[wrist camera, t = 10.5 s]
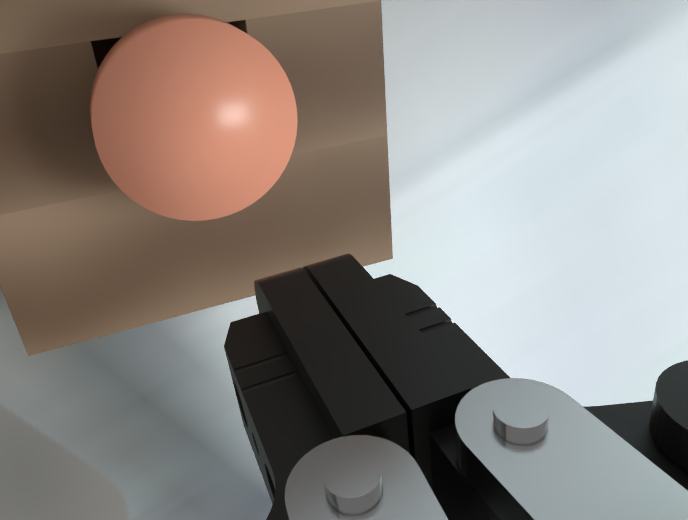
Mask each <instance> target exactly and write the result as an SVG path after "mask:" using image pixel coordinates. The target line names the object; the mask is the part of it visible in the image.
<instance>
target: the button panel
mask: <svg viewBox="0 0 688 520" xmlns="http://www.w3.org/2000/svg"><path fill="white" fill-rule="evenodd" d="M186 13H187V14H200V15H205V16H209V17H213V18H216V19H219V20H222V21H225V22H227V23H229V24H231V25H233V26H235V27H236V28H238V29H240V30H242V31H243V32H245V33H247V34H248V35H250V36H251V37H253V38H254V39H256V40H257V41H258V42H260V43H261V44H262V45H263V46H264V47H265V48H266V49H268V50H269V51H270V52H271V54H272V55H273V56H274V57H275V58H276V60H277V61H278V62H279V64H280V65H281V67H282V68H283V70H284V71H285V73H286V75H287V77H288V80H289V82H290V84H291V87H292V90H293V93H294V96H295V101H296V107H297V120H298V123H297V135H296V140H295V145H294V148H293V151H292V154H291V157H290V159H289V162H288V164H287V166H286V168H285V170H284V171H283V173H282V174H281V176H280V177H279V179H278V180H277V181H276V183H275V184H274V185H273V186H272V187H271V189H270V190H268V191H267V192H266V193H265V194H264V195H263V196H262V197H261V198H260V199H258V200H257V201H255V202H254V203H253V204H251V205H250V206H248V207H246V208H244V209H243V210H241V211H238V212H236V213H233V214H231V215H228V216H225V217H221V218H217V219H211V220H203V221H188V220H178V219H173V218H168V217H165V216H162V215H159V214H156V213H154V212H152V211H150V210H148V209H146V208H144V207H142V206H141V205H139V204H138V203H136V202H134V201H133V200H132V199H131V198H129V197H128V196H127V195H126V194H125V193H123V192H122V190H121V189H120V188H119V187H118V186H117V185H116V184H115V183H114V182H113V180H112V179H111V177H110V176H109V174H108V173H107V172H106V170H105V168H104V166H103V164H102V162H101V160H100V157H99V155H98V152H97V149H96V146H95V141H94V136H93V131H92V125H91V116H90V100H91V91H92V87H93V82H94V79H95V76H96V74H97V71H98V69H99V67H100V65H101V63H102V61H103V59H104V58H105V56H106V55H107V53H108V52H109V51H110V49H111V48H112V47H113V46H114V45H115V44H116V43H117V42H118V41H119V40H120V39H121V38H122V37H123V36H124V35H125V34H127V33H128V32H130V31H131V30H132V29H134V28H135V27H137V26H139V25H141V24H143V23H145V22H147V21H150V20H152V19H155V18H158V17H162V16H167V15H172V14H186ZM345 254H351V255H352V256H353V257H354V258H355V259H356V260H357V261H358V262H359V263H360V264H361V265H362V267H363V266H366V265H370V264H374V263H378V262H381V261H385V260H389V259H393V255H392V233H391V211H390V189H389V167H388V145H387V123H386V101H385V79H384V56H383V34H382V12H381V0H0V286H1V289H2V291H3V294H4V296H5V299H6V301H7V304H8V306H9V309H10V311H11V314H12V316H13V319H14V321H15V324H16V326H17V329H18V331H19V334H20V336H21V339H22V341H23V344H24V346H25V349H26V351H27V354H28V356H30V355H34V354H37V353H41V352H45V351H49V350H52V349H56V348H60V347H63V346H67V345H71V344H75V343H78V342H82V341H86V340H90V339H93V338H97V337H101V336H105V335H108V334H112V333H116V332H120V331H123V330H127V329H131V328H135V327H138V326H142V325H146V324H150V323H153V322H157V321H161V320H164V319H168V318H172V317H176V316H179V315H183V314H187V313H191V312H194V311H198V310H202V309H206V308H209V307H213V306H217V305H221V304H224V303H228V302H232V301H236V300H239V299H243V298H247V297H251V296H254V295H255V288H254V281H255V280H258V279H262V278H265V277H269V276H272V275H276V274H279V273H283V272H286V271H289V270H293V269H296V268H300V267H301V268H303V267H304V266H306V265H310V264H313V263H317V262H320V261H324V260H327V259H331V258H334V257H338V256H341V255H345Z"/></svg>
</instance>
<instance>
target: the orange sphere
mask: <svg viewBox="0 0 688 520" xmlns="http://www.w3.org/2000/svg"><path fill="white" fill-rule="evenodd" d="M90 116H91V125H92V131H93V136H94V141H95V146H96V149H97V152H98V155H99V157H100V160H101V162H102V164H103V166H104V168H105V170H106V172H107V173H108V174H109V176H110V177H111V179H112V180H113V182H114V183H115V184H116V185H117V186H118V187H119V188H120V189H121V190H122V192H123V193H125V194H126V195H127V196H128V197H129V198H131V199H132V200H133V201H134V202H136V203H138V204H139V205H141V206H142V207H144V208H146V209H148V210H150V211H152V212H154V213H156V214H159V215H162V216H165V217H168V218H173V219H178V220H188V221H203V220H211V219H217V218H221V217H225V216H228V215H231V214H233V213H236V212H238V211H241V210H243V209H244V208H246V207H248V206H250V205H251V204H253V203H254V202H255V201H257V200H258V199H260V198H261V197H262V196H263V195H264V194H265V193H266V192H267V191H268V190H270V189H271V187H272V186H273V185H274V184H275V183H276V181H277V180H278V179H279V177H280V176H281V174H282V173H283V171H284V170H285V168H286V166H287V164H288V162H289V159H290V157H291V154H292V151H293V148H294V145H295V140H296V135H297V123H298V120H297V107H296V101H295V96H294V93H293V90H292V87H291V84H290V82H289V80H288V77H287V75H286V73H285V71H284V70H283V68H282V67H281V65H280V64H279V62H278V61H277V60H276V58H275V57H274V56H273V55H272V54H271V52H270V51H269V50H268V49H266V48H265V47H264V46H263V45H262V44H261V43H260V42H258V41H257V40H256V39H254V38H253V37H251V36H250V35H248V34H247V33H245V32H243V31H242V30H240V29H238V28H236V27H235V26H233V25H231V24H229V23H227V22H225V21H222V20H219V19H216V18H213V17H209V16H205V15H200V14H187V13H186V14H172V15H167V16H162V17H158V18H155V19H152V20H150V21H147V22H145V23H143V24H141V25H139V26H137V27H135V28H134V29H132V30H131V31H130V32H128V33H127V34H125V35H124V36H123V37H122V38H121V39H120V40H119V41H118V42H117V43H116V44H115V45H114V46H113V47H112V48H111V49H110V51H109V52H108V53H107V55H106V56H105V58H104V59H103V61H102V63H101V65H100V67H99V69H98V71H97V74H96V76H95V79H94V82H93V87H92V91H91V100H90Z"/></svg>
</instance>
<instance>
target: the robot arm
mask: <svg viewBox="0 0 688 520" xmlns="http://www.w3.org/2000/svg"><path fill="white" fill-rule="evenodd" d="M254 288H255V295H256V300H257V304H258V309H259V314H257V315H254V316H250V317H247V318H244V319H240V320H237V321H234V322H231V323H230V327H229V330H228V334H227V338H226V341H225V345H224V348H225V352H226V356H227V360H228V364H229V368H230V372H231V376H232V380H233V384H234V388H235V392H236V396H237V400H238V404H239V408H240V412H241V416H242V420H243V424H244V427H245V430H246V433H247V435H248V438H249V441H250V444H251V446H252V449H253V451H254V454H255V457H256V460H257V463H258V465H259V468H260V471H261V473H262V476H263V479H264V482H265V485H266V487H267V490H268V493H269V495H270V498H271V501H272V504H273V505H272V508H271V511H270V513H269V515H268V517H267V519H266V520H688V361H684V362H680V363H677V364H675V365H672V366H670V367H669V368H667V369H666V370H665V371H663V372H662V374H661V375H660V376H659V378H658V380H657V382H656V387H655V393H654V399H653V401H645V402H635V403H625V404H615V405H605V406H591V407H583V406H581V405H580V404H579V403H578V402H576V401H575V400H574V399H573V398H571V397H570V396H569V395H567V394H566V393H564V392H563V391H561V390H559V389H557V388H555V387H553V386H551V385H548V384H545V383H543V382H539V381H535V380H529V379H522V378H510V377H509V376H508V375H507V374H506V373H505V372H504V371H503V370H502V369H501V368H500V367H499V366H498V365H497V364H496V363H495V362H494V361H493V360H492V359H491V358H490V357H489V356H488V355H487V354H486V353H485V352H484V351H483V350H482V349H481V348H480V347H479V346H478V345H477V344H476V343H475V342H474V341H473V340H472V339H471V338H470V337H469V336H468V335H467V334H466V333H465V332H464V331H463V330H462V329H461V328H460V327H459V326H458V325H457V324H456V323H452V321H451V318H450V317H449V316H448V315H447V314H446V313H445V312H444V311H443V310H442V309H441V308H440V307H439V308H437V307H436V303H435V302H434V301H433V300H432V299H431V298H430V297H429V296H428V295H427V294H426V293H425V292H423V291H422V290H421V289H420V288H419V287H418V286H417V285H415V284H412V283H410V282H408V281H405V280H403V279H401V278H398V277H396V276H393V275H391V274H389V275H385V276H382V277H379V278H376V279H373V278H372V277H371V276H370V274H369V273H368V272H367V271H366V270H365V269H364V268H363V267H362V265H361V264H360V263H359V262H358V261H357V260H356V259H355V258H354V257H353V256H352V255H351V254H345V255H341V256H338V257H334V258H331V259H327V260H324V261H320V262H317V263H313V264H310V265H306V266H304V267H303V268H301V267H300V268H296V269H293V270H289V271H286V272H283V273H279V274H276V275H272V276H269V277H265V278H262V279H258V280H255V281H254Z"/></svg>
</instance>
